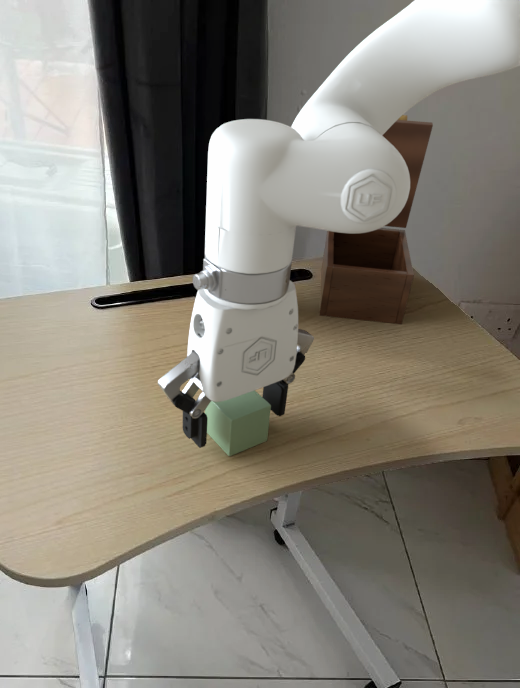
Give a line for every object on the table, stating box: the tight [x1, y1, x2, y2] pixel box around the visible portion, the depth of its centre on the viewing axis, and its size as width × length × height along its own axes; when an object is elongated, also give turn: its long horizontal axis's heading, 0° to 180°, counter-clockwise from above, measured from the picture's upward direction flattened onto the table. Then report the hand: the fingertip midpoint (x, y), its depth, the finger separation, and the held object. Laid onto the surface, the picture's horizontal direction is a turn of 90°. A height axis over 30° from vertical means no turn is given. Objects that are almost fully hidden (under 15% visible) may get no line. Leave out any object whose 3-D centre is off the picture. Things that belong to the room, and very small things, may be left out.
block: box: [204, 390, 271, 457], centre depth 68 cm, size 5×5×5 cm
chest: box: [318, 227, 415, 325], centre depth 89 cm, size 14×11×9 cm
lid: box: [382, 114, 434, 229], centre depth 88 cm, size 14×11×6 cm
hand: (235, 423), depth 68 cm, fingers open, 9 cm apart
